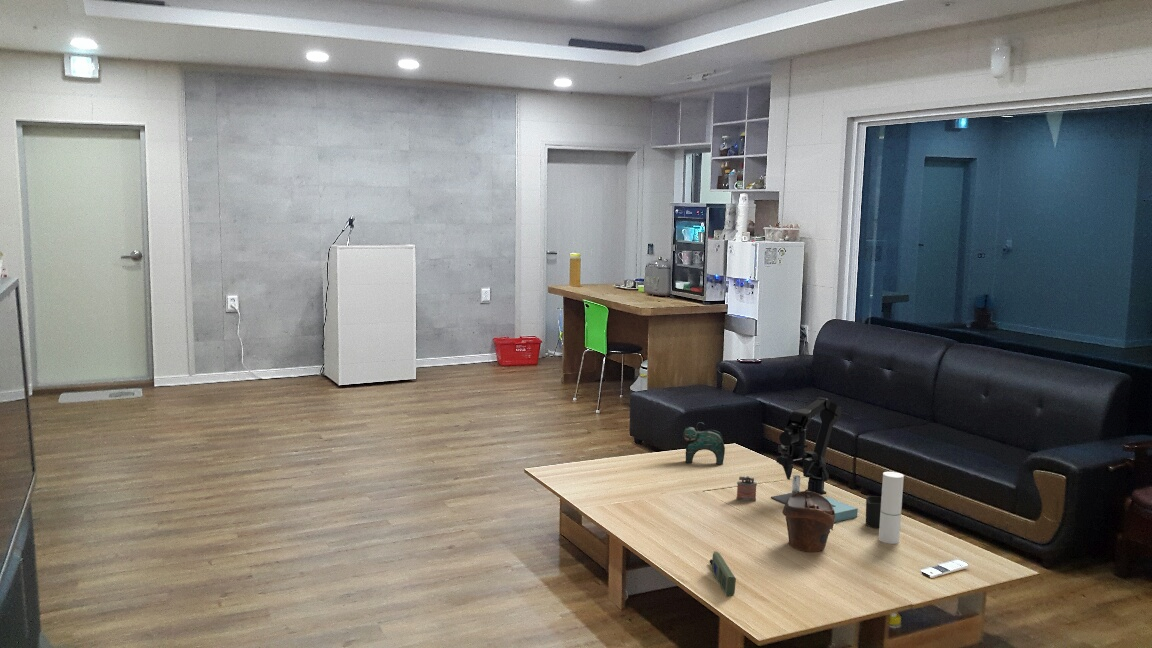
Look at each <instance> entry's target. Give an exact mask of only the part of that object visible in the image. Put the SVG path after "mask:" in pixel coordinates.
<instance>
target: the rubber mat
mask: <svg viewBox="0 0 1152 648" xmlns="http://www.w3.org/2000/svg"><path fill="white" fill-rule="evenodd" d="M790 496H792V492H789V493H783V494H778V495H774V496H770V499H772V500H775V501H777V502H780V503H782V504H784V505H785V504H786V502H787V500H788V499H789V497H790Z"/></svg>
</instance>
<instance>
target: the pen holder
mask: <svg viewBox="0 0 1152 648" xmlns="http://www.w3.org/2000/svg"><path fill="white" fill-rule="evenodd" d="M880 511H881V496H877V495H872V496H871V495H870V496H866V499H865V524H866V526H867V527H870V528H874V529H878V530H879V525H880Z"/></svg>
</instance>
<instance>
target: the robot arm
mask: <svg viewBox="0 0 1152 648" xmlns="http://www.w3.org/2000/svg"><path fill="white" fill-rule="evenodd" d="M842 411H843V410H842V408H841V406H840V405H838V404H836V403H834V402H832V401H831V400H830V399H828V398H825V397H817V398H816V399H815V400H813V402H811V403H810V404H808V405H807V406H805V407H803V408H799V409H795V410H792V411H791V413H790V414H789V416H788V419H787V422H786V424H785V427H784V429H783V432H781V433H780V435H779V439H778V440H779V443H780V444H781V445H780V444H778V446H777V451H778V454H780V453H781V455H777V456H776V463H777V464H778V465H781V466H782V468H783V470H784V473H785V477H786V480H789V481H790V480H791V477H792V472H793V470H794V469H793V468H794V465H793V463H794V462H795V461H800V460H801V461H802V465H803V466H802V475H803V477H804V478H808V482H807V489H805V490H804V491H811V492H815V493H817V494H820V495H822V494H823V495H824V494H827V491H825V482H828V480H829V477H830V474H829V472H828V470H827V469H826V468H827V463H826V460H825V456H826V453H827V448H828V445H829V441H830V437H831V433H832V430H833V427H834V425H836V423H838V421H839V419H840V417H841V416H842ZM818 414H819V419H820V422H821V423H820V427H819V430H818V433H817V437H816V440H815V441H816V442H815V444H814V448H813V451H812V450H806V448H808V446H809V445H808V444H806V442H807V441H806V439H807V438H806V437H807V431H808V430H809V427H808V426H809V425H810V424H811V423H812V418H814V417H815V416H816V415H818ZM786 454H787V455H786Z"/></svg>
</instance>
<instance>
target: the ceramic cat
mask: <svg viewBox="0 0 1152 648" xmlns="http://www.w3.org/2000/svg"><path fill="white" fill-rule="evenodd" d="M698 424H703V425H705V423H704V422H702V421H701V422H700V421H699V422H697V424H696V425H698ZM682 433H683V434H682V437H683V439H684V440H685V441H686V442H687V443H686V444H685V445H686V446H685V464H692V463H693V462H694V457H695V454H696V453H697V452H700V451H702V450H703V451H705V450H706V451H710V452H712V453H713V454H714V456H715V463H716V465H717V466H723V465H724V459H725V453H726V447H725V444H724V441H723V440H724V437H723V435H722V433H721V432H720V431H717V429H716V430H715V429H707V430H703V431H701V430H699V429H698V428H695V427H692V426H688V425H687V426H685V429H684V431H683V432H682Z"/></svg>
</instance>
